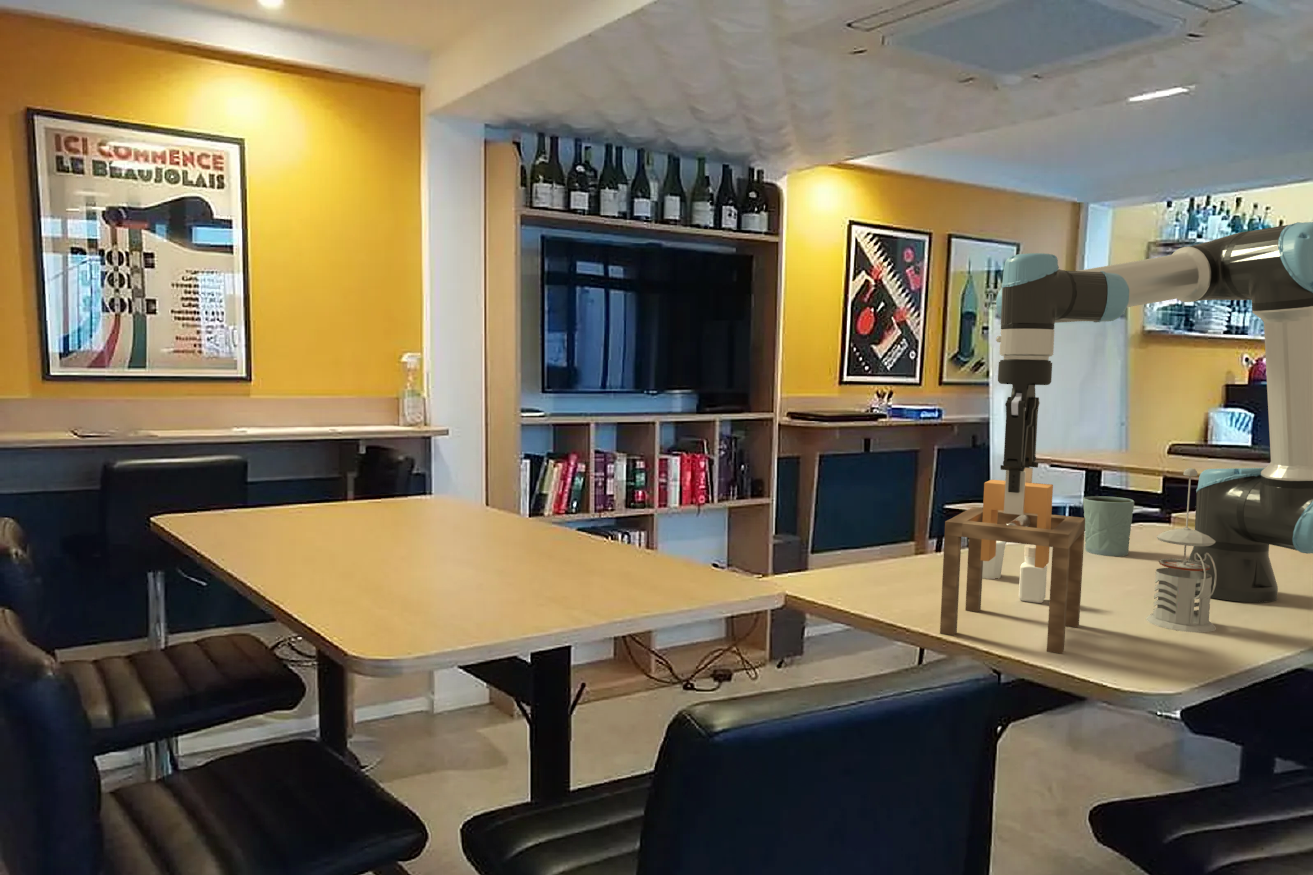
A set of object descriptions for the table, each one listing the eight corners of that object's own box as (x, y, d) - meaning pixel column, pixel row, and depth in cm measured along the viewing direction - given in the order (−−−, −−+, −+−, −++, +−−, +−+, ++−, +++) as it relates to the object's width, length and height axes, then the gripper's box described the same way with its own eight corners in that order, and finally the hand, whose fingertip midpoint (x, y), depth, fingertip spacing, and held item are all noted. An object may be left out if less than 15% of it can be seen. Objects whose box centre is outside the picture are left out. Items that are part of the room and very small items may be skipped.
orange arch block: (1048, 562, 140) (1053, 484, 139) (1043, 568, 136) (1047, 487, 135) (987, 554, 145) (991, 479, 144) (980, 560, 140) (984, 482, 140)
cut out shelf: (1079, 624, 144) (1085, 517, 143) (1062, 653, 129) (1068, 534, 128) (968, 607, 153) (973, 507, 152) (939, 633, 138) (945, 521, 137)
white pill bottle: (1042, 604, 156) (1045, 549, 156) (1017, 601, 158) (1020, 546, 158) (1045, 599, 160) (1048, 545, 159) (1021, 596, 162) (1024, 543, 161)
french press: (1191, 615, 151) (1201, 465, 149) (1238, 636, 140) (1250, 473, 138) (1133, 614, 151) (1142, 464, 149) (1175, 635, 139) (1186, 472, 138)
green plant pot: (1139, 557, 198) (1143, 502, 197) (1092, 556, 199) (1096, 501, 198) (1117, 548, 209) (1120, 496, 208) (1072, 547, 209) (1075, 495, 208)
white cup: (1006, 580, 174) (1008, 544, 173) (969, 578, 175) (970, 542, 174) (1000, 573, 180) (1002, 537, 180) (964, 570, 182) (966, 535, 181)
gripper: (1011, 359, 147) (1003, 502, 149) (986, 357, 132) (978, 516, 134) (1061, 359, 143) (1053, 506, 145) (1042, 357, 128) (1033, 522, 130)
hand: (1017, 511), depth 140 cm, fingers closed on orange arch block, 5 cm apart
